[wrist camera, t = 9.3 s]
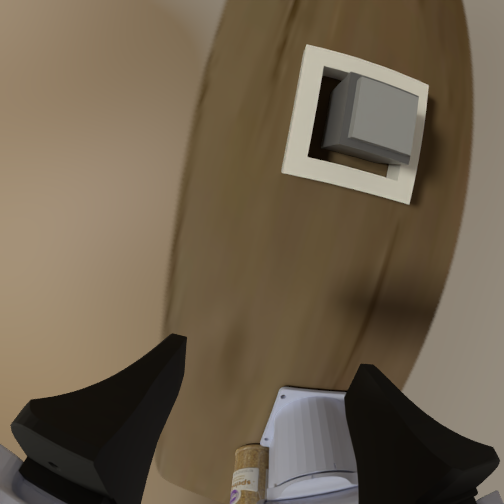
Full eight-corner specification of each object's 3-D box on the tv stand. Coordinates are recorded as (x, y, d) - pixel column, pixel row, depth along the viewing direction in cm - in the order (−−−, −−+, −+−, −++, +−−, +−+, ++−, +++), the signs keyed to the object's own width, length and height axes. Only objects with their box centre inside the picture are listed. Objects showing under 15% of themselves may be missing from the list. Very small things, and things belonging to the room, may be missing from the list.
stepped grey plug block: (375, 162, 18) (415, 165, 12) (320, 147, 18) (342, 142, 12) (384, 109, 17) (425, 93, 11) (330, 92, 17) (355, 67, 11)
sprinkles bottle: (239, 439, 27) (227, 547, 14) (280, 445, 27) (280, 551, 14) (231, 458, 28) (218, 554, 16) (268, 464, 28) (265, 558, 16)
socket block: (397, 200, 19) (409, 204, 17) (281, 171, 19) (282, 172, 17) (415, 90, 16) (428, 85, 14) (303, 54, 16) (306, 44, 14)
